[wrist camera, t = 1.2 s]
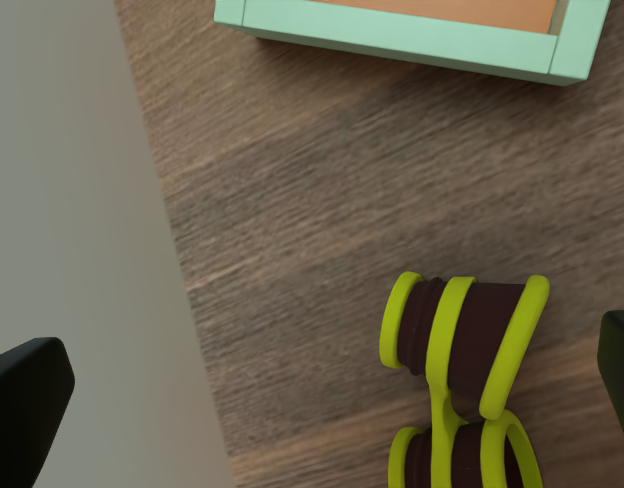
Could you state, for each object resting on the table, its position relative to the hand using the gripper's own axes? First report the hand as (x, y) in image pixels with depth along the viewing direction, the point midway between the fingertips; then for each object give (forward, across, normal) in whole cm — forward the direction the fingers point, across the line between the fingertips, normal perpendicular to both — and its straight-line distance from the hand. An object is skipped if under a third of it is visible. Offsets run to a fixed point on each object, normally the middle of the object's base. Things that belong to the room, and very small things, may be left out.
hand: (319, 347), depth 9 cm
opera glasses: (+10, -4, +9) cm, 14 cm away
